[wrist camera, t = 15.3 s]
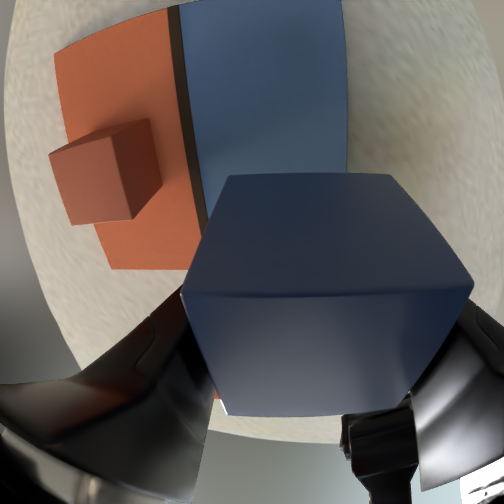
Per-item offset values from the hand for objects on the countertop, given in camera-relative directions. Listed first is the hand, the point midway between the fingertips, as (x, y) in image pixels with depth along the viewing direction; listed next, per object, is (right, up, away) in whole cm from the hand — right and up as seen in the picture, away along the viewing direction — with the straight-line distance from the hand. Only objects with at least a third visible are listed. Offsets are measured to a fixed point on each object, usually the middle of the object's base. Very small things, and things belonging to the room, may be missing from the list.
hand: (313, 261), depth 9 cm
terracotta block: (-11, +7, +9) cm, 16 cm away
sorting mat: (-6, +7, +9) cm, 13 cm away
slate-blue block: (0, +1, +1) cm, 1 cm away
